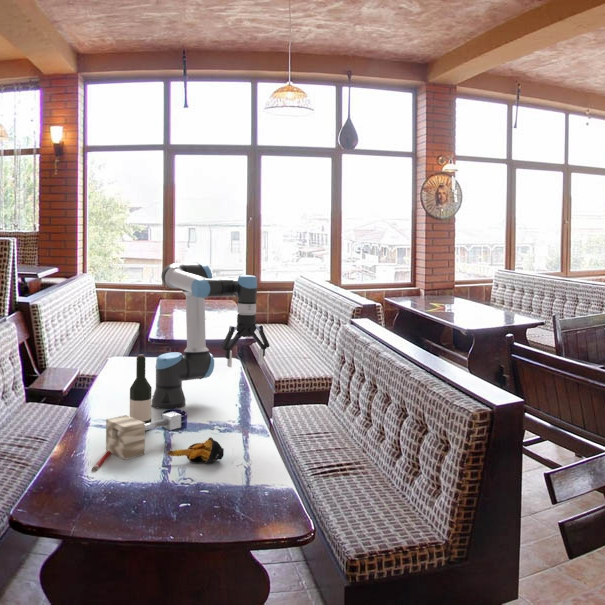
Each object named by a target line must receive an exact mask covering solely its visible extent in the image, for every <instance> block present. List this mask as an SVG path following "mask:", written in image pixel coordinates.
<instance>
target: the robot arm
mask: <svg viewBox="0 0 605 605" xmlns="http://www.w3.org/2000/svg"><path fill="white" fill-rule="evenodd" d="M160 277H161V281H162V283H163V285H165V286H166V287H167V288H171V289H181V291H182V294H184V296H185V310H186V311H185V312H186V314H185V317H186V319H185V320H186V322H185V323H186V348H185V349H184V350H183V353H181V352H177V351H174V352H173V351H172V352H165V353H163V354H160V355H158V356H157V357H156V363H155V390H154V393H153V396H152V397H151V407H153V408H157V409H162V410H171V409H179V408H183V407H185V405H186V396H185V393H184V390H183V381H191V380H192V381H193V380H202V379H206V378H209V377H210V376H211V375H212V374H213V372H214V369H215V359H214V355H213V354H212V353H211V352H210V349H209V348H208V347H207V345H206V343H207V342H206V340H207V339H206V308H205V307H206V304H205V302H206V301H205V298H226V297H227V298H229V297H233V298H235V297H236V298H237V310H236V311H237V313H238V314H237V315H236V326H234V325H229V329H228V333H227V335H226V336H225V339H224V340H223V342H222V345H221V346H220V348H221V350H223V351H225V359H227V360H226V361H227V363H226V364H227V365H226V366H227V367H228V368H232V367H233V366H232V363H233V362H232V361H233V351H232V349H233V348H234V346H235V345H237V343H238V341H239V340H240V339H241V338H247V337H249V338H250V337H252V338H253V340H254V341H255V342H256V344H257V345H258V346H259V348H258V360H257V362H258V363H257V364H258V365H260V366H264V365H263V360H264V357H265V356H266V350H267V348H269V347H270V346H271V345H270V343H269V341H268V339H267V336H266V334H265V332H264V326H263V324H262V325H261V324H258V325H256V324H257V323H256V322H257V314H256V313H257V298H258V297H257V295H258V277H257V276H255V275H250V274H249V275H248V274H242V275H241V274H240V275H239V276H238V278H236V277H227V278H224V277H223V278H213V273H212V271H211V269H210V267H209V266H208V264H206V263H202V262H174V263H169V264H168V265H166V266H165V267H164V268H163V270H162V271H161V276H160ZM256 330H257V332H258V334H259V336H260V338H261V340H262V341H261V340H260V338H259V336H258V335H257V333H256ZM236 331H237V332H236ZM235 332H236V333H235ZM234 333H235V336H234V337H233V335H234ZM232 337H233V338H232Z"/></svg>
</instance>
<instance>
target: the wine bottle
mask: <svg viewBox="0 0 605 605" xmlns="http://www.w3.org/2000/svg"><path fill="white" fill-rule="evenodd" d="M135 370H136V372H135V373H136V378H135V380H134V381H133V382H132V384H131V386H130V388H129V417H132V418H134V419H137V420H139V421H142V422H145V424H146V423H151V422H152V391H153V390H152V386H151V384H150V383H149V380H148V379H147V378H146V356H145V354H143V353H141V354H137V356H136V369H135ZM148 431H149V430H146V431H145V432H148Z"/></svg>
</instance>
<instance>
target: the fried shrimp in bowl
mask: <svg viewBox="0 0 605 605" xmlns="http://www.w3.org/2000/svg"><path fill="white" fill-rule="evenodd" d="M224 453H225V451H224V448H223V447H222V446H221V444H220V443H219V442H218V441H217V440H215V439H214V438H212V437H209V438H207V439H206V440H205V441H204V442H199V443H198V442H197V443H193V444H191V445H190V446H188V448H187V449H186V448H185V449H174V450H169V451H167V452H166V455H167V456H171V457H183V456H185V457H187V460H188V461H189V462H191V463H192V464H201V463H203V464H208V463H215V462H216V461H218V460H219V461H221V460H222V459H223V458H224Z"/></svg>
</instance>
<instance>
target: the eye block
mask: <svg viewBox="0 0 605 605" xmlns="http://www.w3.org/2000/svg"><path fill="white" fill-rule="evenodd" d="M117 430H119V434H118V437H117V435H116V431H117ZM145 433H146V431H145V422H142V421H139V420H137V419H134V418H132V417H130V415H126V414H125V415H120V416H117V417H112V418H111V417H110V418H106V419H105V451H106V452H107V451H110V452H111V455H112V454H113V455H114V456H116V457H118V458H120V459H122V460H124V461H125V460H129V459H131V458H135V457H139V456H143V455H145V452H146V450H145V447H146V446H145V445H146V444H145V443H146V442H145V438H146V435H145Z"/></svg>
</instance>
